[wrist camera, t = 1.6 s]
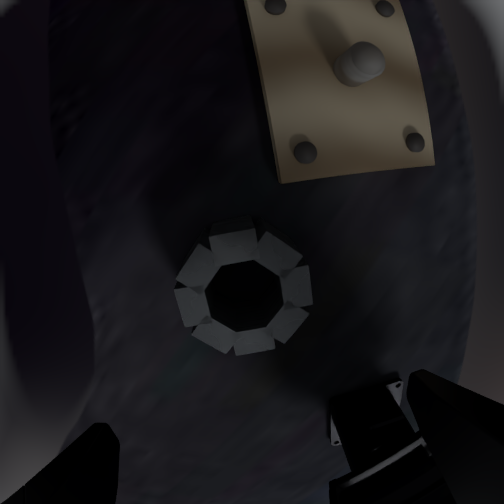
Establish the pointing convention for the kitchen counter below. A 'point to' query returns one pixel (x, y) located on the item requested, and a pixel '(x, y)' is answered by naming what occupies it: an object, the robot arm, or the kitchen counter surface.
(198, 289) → the ring
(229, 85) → the kitchen counter surface
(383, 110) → the beige mounting plate
